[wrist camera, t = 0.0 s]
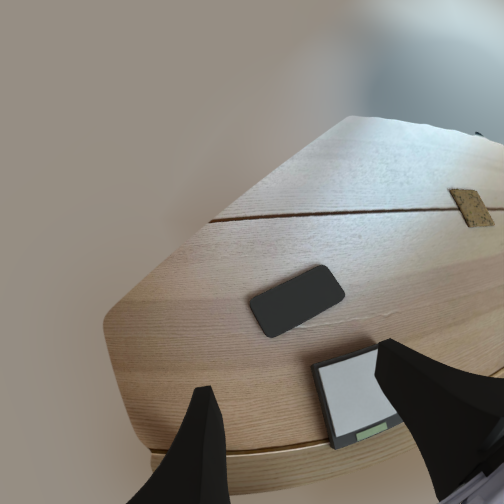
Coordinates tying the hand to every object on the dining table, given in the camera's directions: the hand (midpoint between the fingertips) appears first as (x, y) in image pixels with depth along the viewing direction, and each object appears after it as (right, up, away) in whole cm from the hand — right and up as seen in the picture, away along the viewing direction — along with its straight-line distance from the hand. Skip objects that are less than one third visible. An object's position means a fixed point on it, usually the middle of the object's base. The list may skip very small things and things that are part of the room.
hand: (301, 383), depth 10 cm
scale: (+14, -17, +27) cm, 35 cm away
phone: (+6, -3, +35) cm, 36 cm away
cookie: (+56, +17, +45) cm, 74 cm away
